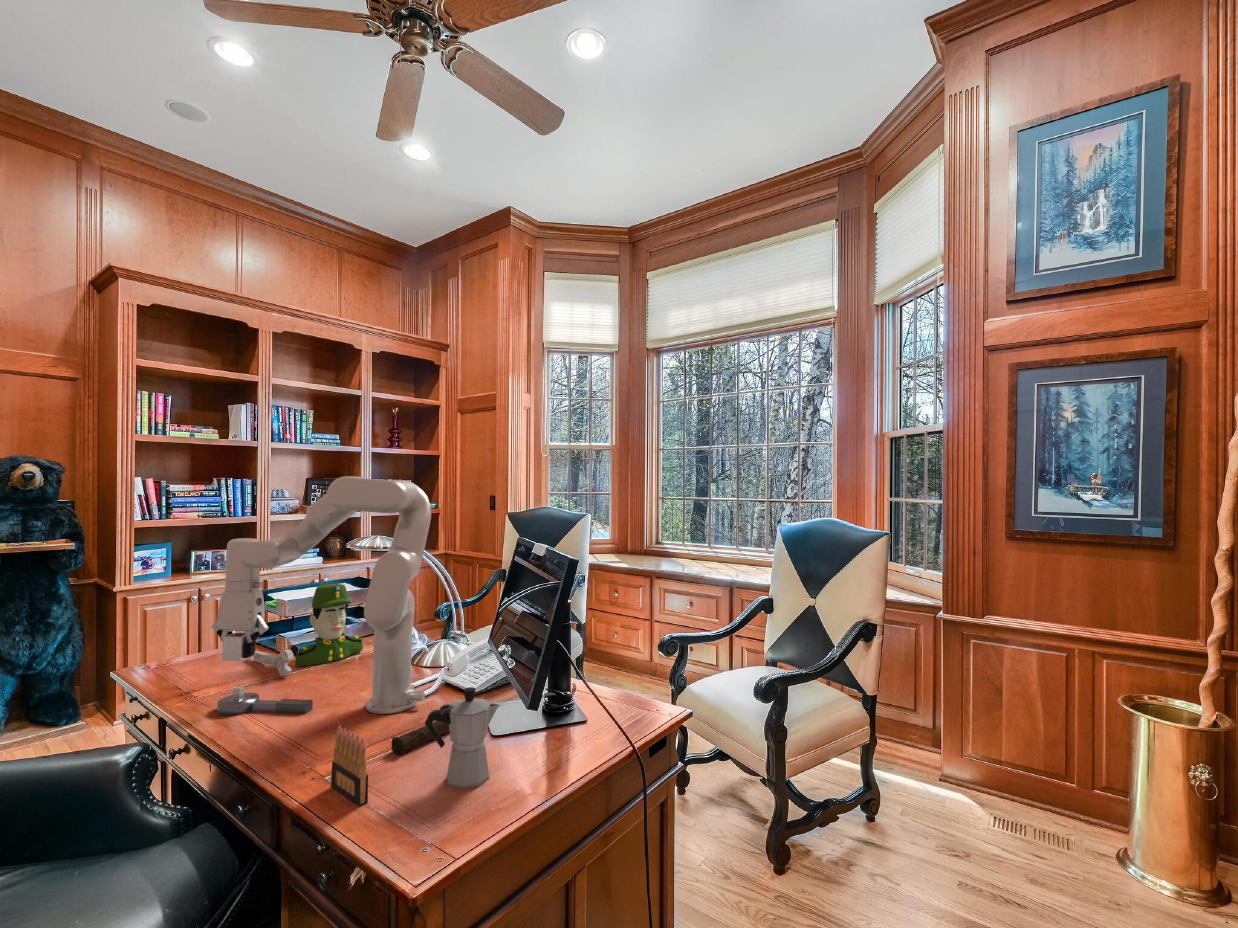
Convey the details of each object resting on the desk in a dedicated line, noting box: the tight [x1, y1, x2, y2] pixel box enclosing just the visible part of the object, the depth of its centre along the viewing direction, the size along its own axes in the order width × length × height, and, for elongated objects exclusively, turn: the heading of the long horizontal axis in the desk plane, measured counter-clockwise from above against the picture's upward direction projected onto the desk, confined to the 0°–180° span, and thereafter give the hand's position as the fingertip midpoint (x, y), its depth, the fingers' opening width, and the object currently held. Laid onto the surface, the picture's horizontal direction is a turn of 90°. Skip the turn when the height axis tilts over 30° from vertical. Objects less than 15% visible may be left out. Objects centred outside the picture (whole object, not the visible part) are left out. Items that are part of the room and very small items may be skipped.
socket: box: [221, 631, 254, 662], centre depth 148 cm, size 5×5×6 cm
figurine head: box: [294, 583, 364, 667], centre depth 189 cm, size 22×12×25 cm, turn 143°
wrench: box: [249, 649, 295, 677], centre depth 179 cm, size 8×2×30 cm
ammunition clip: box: [330, 724, 369, 807], centre depth 109 cm, size 11×2×12 cm, turn 52°
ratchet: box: [216, 685, 314, 717], centre depth 148 cm, size 24×9×6 cm, turn 87°
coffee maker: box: [424, 686, 501, 790], centre depth 115 cm, size 15×9×18 cm, turn 112°
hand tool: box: [391, 721, 450, 756], centre depth 132 cm, size 19×4×5 cm, turn 144°
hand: (238, 655), depth 148 cm, fingers closed on socket, 5 cm apart
